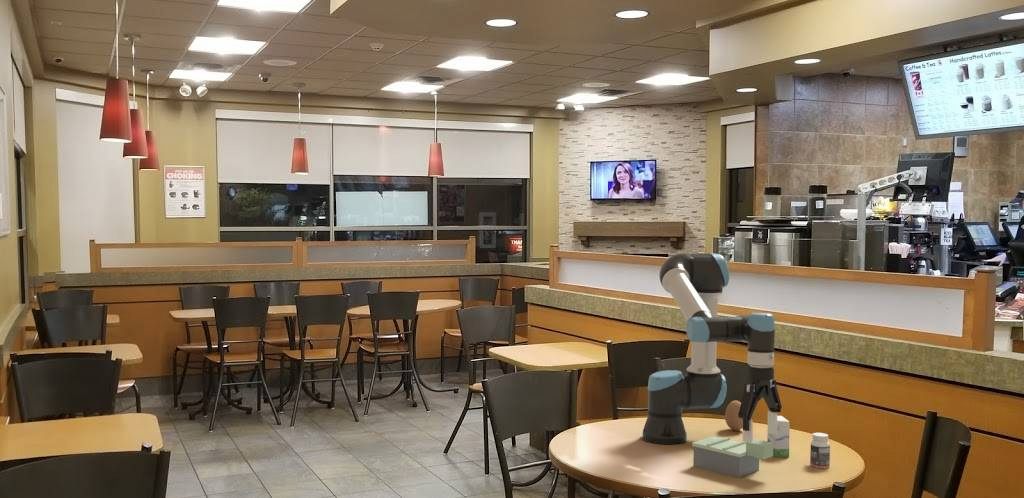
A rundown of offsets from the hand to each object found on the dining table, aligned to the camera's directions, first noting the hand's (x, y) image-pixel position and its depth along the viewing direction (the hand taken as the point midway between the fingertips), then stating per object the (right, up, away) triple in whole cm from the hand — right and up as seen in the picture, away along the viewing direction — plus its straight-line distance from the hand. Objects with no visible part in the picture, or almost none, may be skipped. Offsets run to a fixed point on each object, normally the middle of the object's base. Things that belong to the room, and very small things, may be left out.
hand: (760, 437), depth 250 cm
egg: (+8, -10, +58) cm, 59 cm away
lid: (-6, -5, +7) cm, 10 cm away
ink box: (+14, -12, +28) cm, 34 cm away
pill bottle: (+23, -12, +14) cm, 30 cm away
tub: (-8, -12, +9) cm, 17 cm away
